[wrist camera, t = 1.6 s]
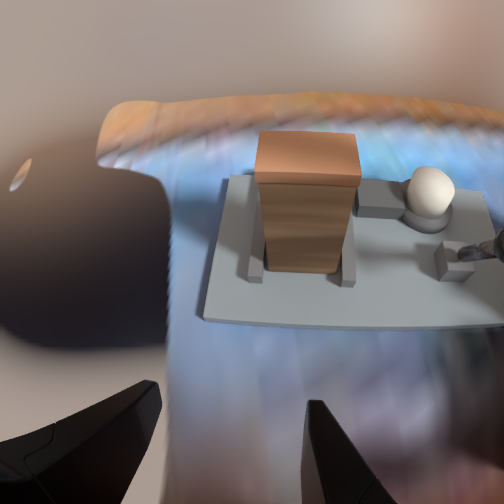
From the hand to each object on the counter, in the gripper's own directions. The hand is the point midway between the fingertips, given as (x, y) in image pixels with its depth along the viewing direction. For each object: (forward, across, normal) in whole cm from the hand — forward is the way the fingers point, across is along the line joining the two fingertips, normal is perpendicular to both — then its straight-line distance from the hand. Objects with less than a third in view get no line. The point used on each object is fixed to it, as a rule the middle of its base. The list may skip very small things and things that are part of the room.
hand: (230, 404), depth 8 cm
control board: (+19, -8, 0) cm, 21 cm away
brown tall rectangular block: (+17, -2, 0) cm, 17 cm away
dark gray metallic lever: (+16, -14, -1) cm, 21 cm away
